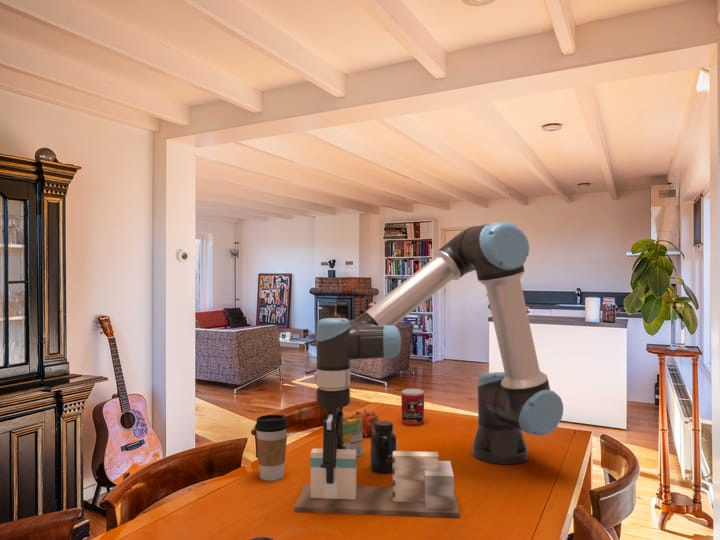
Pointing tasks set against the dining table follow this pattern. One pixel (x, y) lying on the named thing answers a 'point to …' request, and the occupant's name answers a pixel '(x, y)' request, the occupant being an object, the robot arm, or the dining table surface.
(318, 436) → the dining table surface
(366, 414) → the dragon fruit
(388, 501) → the stepped block stand
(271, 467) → the coffee cup
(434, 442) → the dining table surface
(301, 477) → the dining table surface
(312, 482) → the blue-striped white box
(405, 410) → the canned food
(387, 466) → the supplement bottle
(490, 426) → the robot arm
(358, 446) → the crayon box
